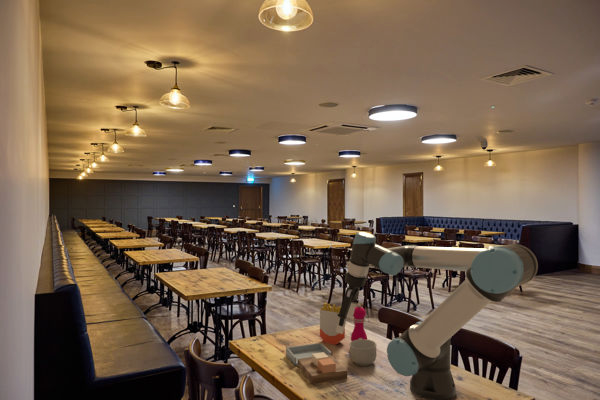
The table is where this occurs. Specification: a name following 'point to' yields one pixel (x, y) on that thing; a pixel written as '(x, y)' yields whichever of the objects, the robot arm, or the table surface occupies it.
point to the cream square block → (318, 357)
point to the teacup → (363, 351)
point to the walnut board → (316, 375)
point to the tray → (305, 351)
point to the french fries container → (330, 324)
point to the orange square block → (326, 365)
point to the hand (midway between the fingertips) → (344, 324)
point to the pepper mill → (359, 323)
